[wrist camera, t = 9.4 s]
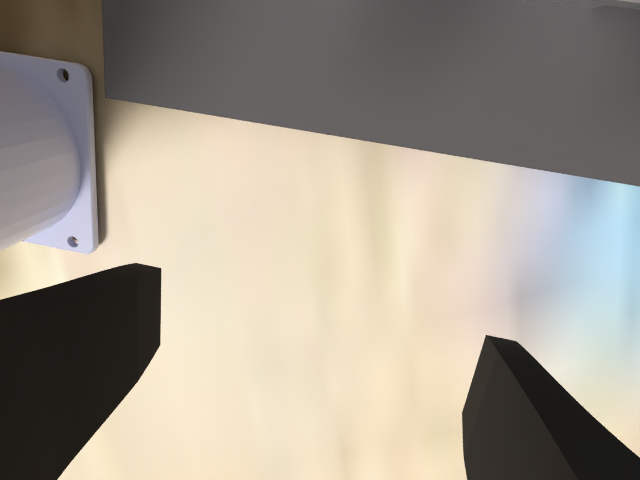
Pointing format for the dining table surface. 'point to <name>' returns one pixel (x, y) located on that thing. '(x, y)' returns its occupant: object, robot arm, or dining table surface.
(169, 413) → the dining table surface
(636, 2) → the grey metal plate
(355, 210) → the dining table surface
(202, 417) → the dining table surface
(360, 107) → the dark grey backing panel
